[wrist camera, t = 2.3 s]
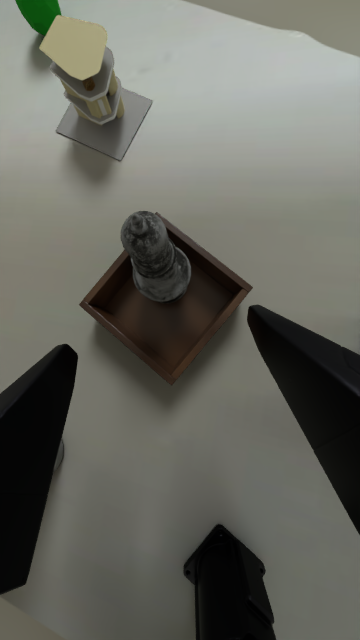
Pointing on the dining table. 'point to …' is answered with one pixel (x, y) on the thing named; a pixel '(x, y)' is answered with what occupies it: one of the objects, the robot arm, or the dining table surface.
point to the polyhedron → (39, 13)
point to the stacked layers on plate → (92, 87)
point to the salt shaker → (155, 258)
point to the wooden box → (167, 308)
